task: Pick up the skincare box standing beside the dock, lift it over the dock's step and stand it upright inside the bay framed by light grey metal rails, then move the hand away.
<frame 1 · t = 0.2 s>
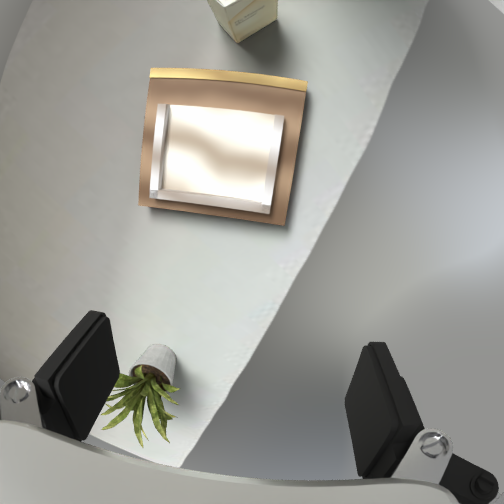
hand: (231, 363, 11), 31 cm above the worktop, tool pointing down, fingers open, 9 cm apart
dock: (220, 142, 38), on the worktop
house plant: (154, 354, 50), on the worktop
skincare box: (247, 19, 32), on the worktop
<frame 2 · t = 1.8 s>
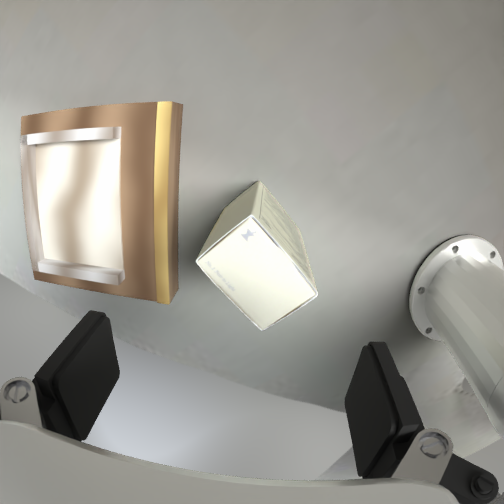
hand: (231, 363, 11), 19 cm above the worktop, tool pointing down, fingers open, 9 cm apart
dock: (99, 197, 29), on the worktop
skincare box: (264, 219, 29), on the worktop
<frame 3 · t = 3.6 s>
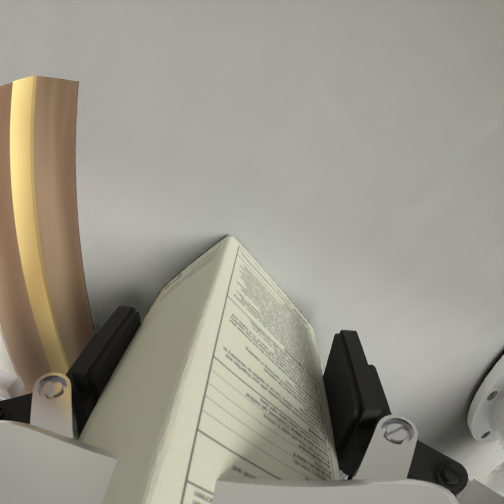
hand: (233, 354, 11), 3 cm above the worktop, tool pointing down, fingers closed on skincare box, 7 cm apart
skincare box: (243, 307, 15), on the worktop, touching gripper
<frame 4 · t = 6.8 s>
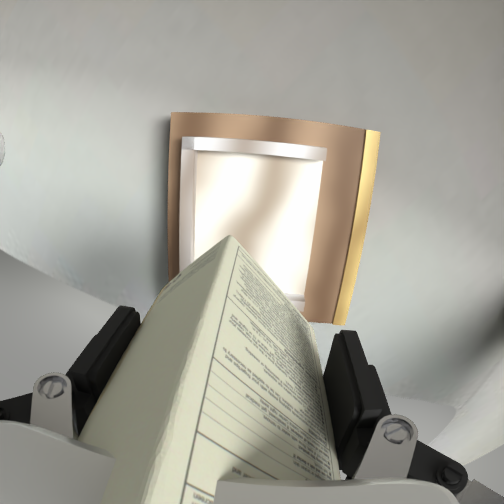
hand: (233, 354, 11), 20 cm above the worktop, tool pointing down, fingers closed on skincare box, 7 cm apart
dock: (266, 216, 30), on the worktop
skincare box: (243, 308, 15), point 16 cm above the worktop, touching gripper
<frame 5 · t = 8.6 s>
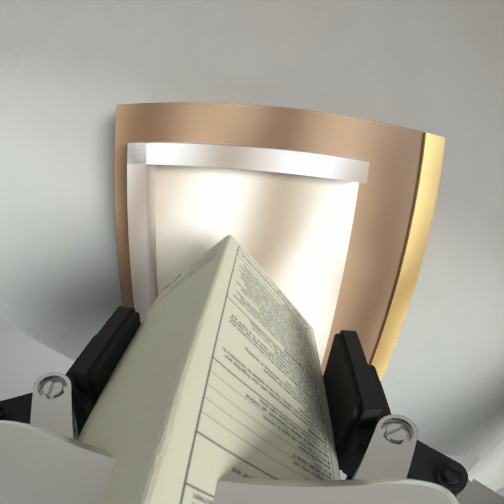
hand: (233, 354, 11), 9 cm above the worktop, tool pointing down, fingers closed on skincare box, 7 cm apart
dock: (267, 260, 20), on the worktop
skincare box: (243, 308, 15), point 6 cm above the worktop, touching gripper
when the fingers open (8 cm above the worktop, at t = 9.9 s): skincare box drops 1 cm, resting on dock.
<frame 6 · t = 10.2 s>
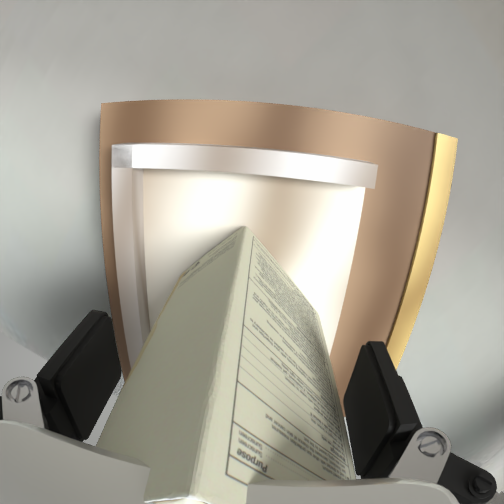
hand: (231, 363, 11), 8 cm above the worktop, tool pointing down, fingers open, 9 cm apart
dock: (265, 269, 19), on the worktop
skincare box: (254, 294, 16), point 3 cm above the worktop, touching dock
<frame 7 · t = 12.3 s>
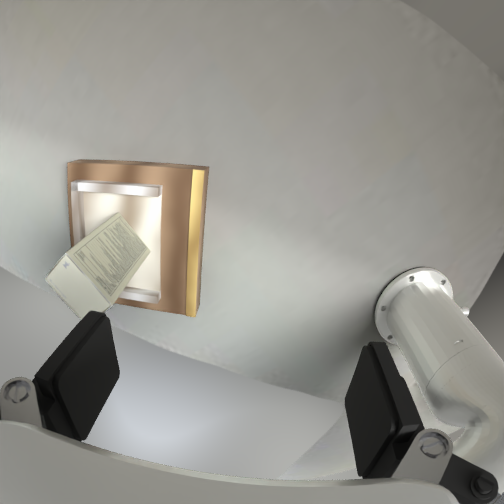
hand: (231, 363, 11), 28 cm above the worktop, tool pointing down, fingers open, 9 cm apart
dock: (137, 233, 39), on the worktop
skincare box: (125, 241, 36), point 3 cm above the worktop, touching dock
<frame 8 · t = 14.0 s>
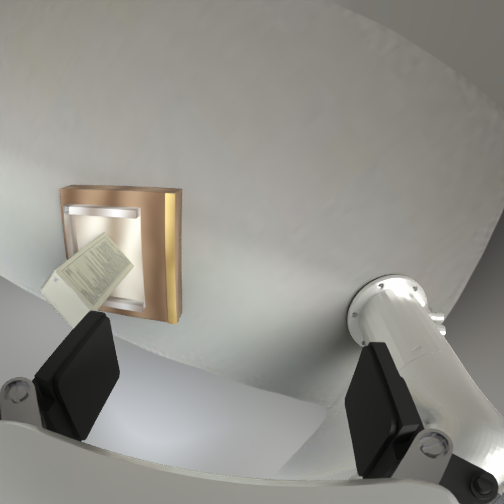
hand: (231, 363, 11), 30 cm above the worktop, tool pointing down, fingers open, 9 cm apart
dock: (124, 249, 43), on the worktop
skincare box: (112, 257, 40), point 3 cm above the worktop, touching dock
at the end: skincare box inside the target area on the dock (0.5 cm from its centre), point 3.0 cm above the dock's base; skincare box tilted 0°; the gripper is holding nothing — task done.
